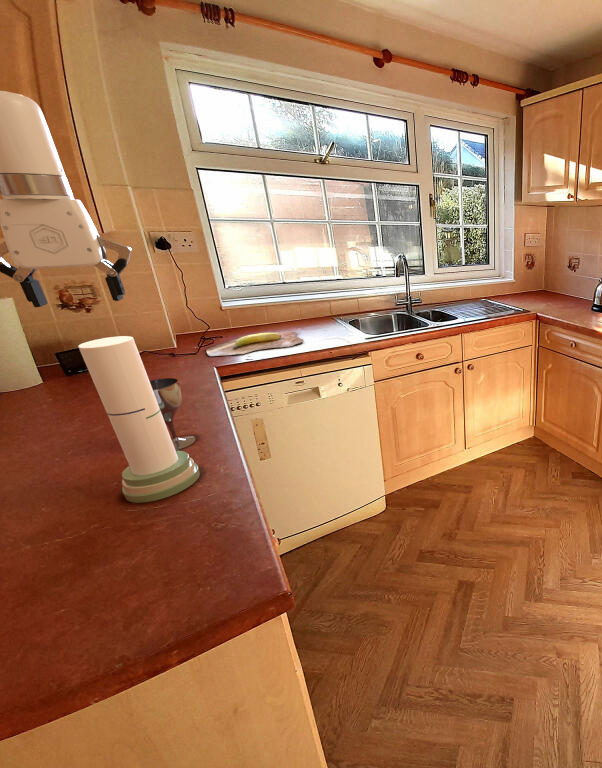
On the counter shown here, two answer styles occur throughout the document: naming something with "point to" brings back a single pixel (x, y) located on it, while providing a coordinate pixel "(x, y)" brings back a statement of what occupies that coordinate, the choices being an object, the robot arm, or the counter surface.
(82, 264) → the robot arm
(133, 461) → the cylindrical container
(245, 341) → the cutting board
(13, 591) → the counter surface
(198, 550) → the counter surface
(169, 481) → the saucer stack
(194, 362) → the counter surface
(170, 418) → the wine glass
